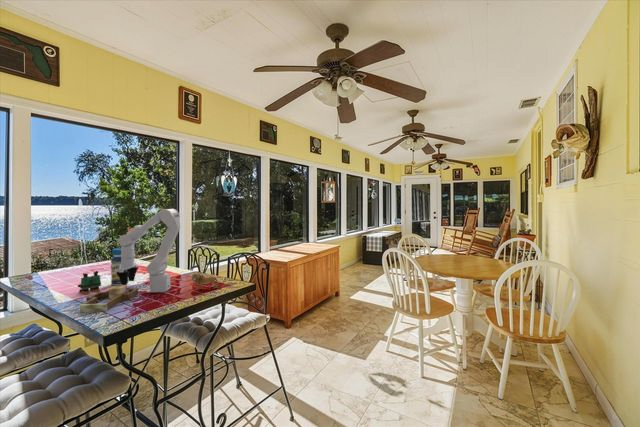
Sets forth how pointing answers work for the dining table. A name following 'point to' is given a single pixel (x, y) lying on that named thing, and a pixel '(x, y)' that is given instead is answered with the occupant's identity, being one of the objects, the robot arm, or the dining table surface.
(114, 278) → the beverage bottle
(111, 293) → the beech block
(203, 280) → the lion figurine
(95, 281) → the green toy train
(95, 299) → the trap lane
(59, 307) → the dining table surface
